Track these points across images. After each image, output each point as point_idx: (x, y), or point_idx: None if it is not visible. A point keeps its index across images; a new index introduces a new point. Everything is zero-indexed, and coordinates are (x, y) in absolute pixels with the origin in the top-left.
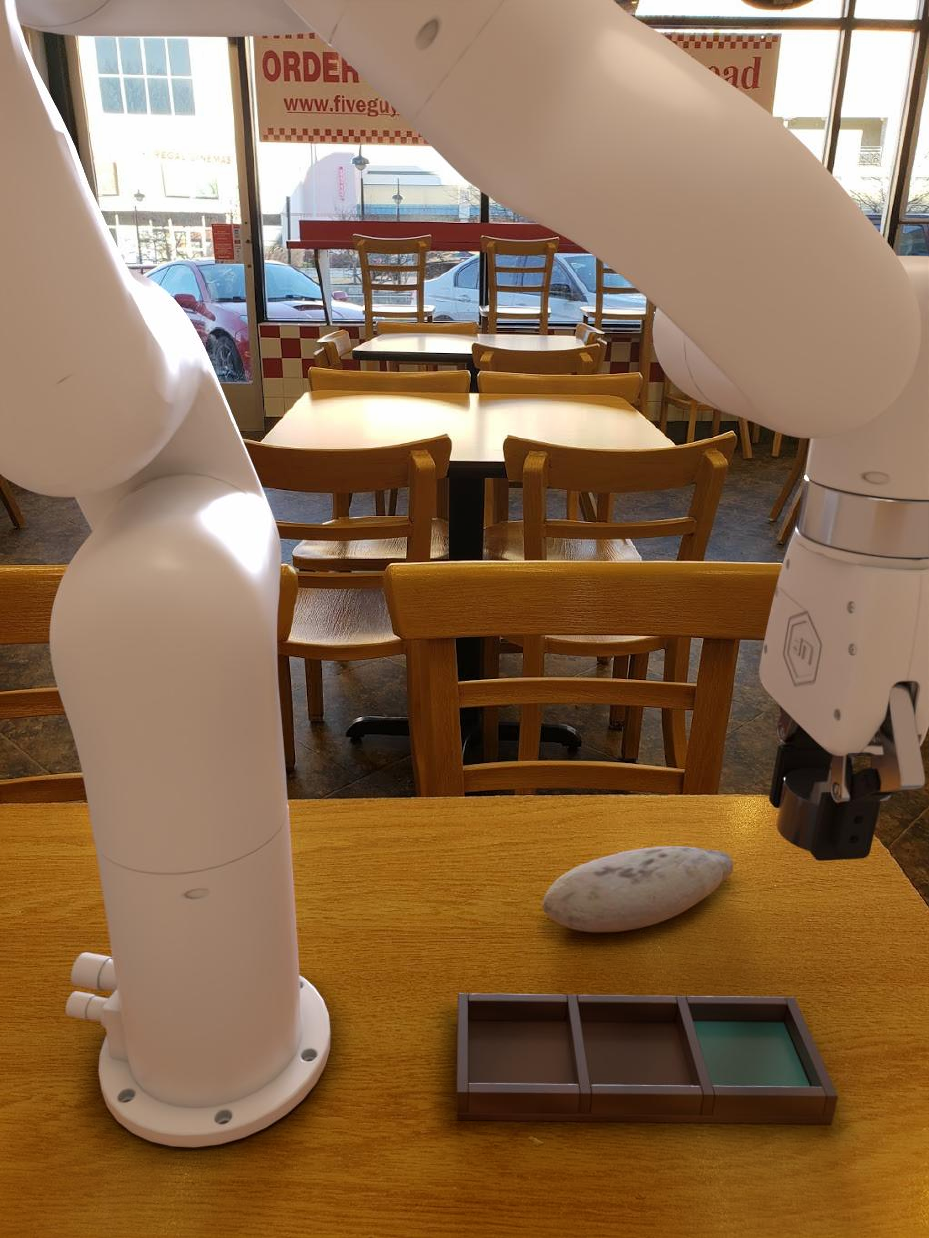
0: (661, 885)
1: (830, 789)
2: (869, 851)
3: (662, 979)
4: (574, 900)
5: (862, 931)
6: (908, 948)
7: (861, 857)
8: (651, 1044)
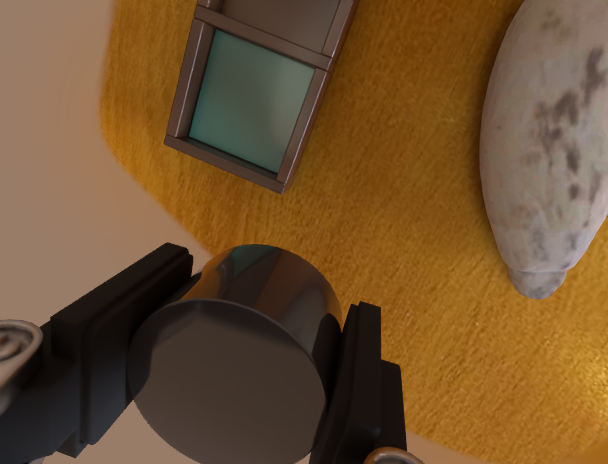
0: (512, 149)
1: (37, 344)
2: None
3: (400, 91)
4: None
5: None
6: None
7: None
8: (306, 9)
